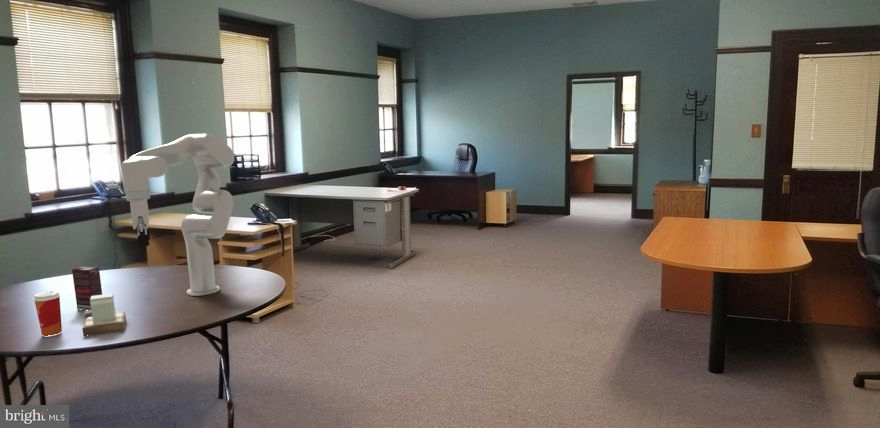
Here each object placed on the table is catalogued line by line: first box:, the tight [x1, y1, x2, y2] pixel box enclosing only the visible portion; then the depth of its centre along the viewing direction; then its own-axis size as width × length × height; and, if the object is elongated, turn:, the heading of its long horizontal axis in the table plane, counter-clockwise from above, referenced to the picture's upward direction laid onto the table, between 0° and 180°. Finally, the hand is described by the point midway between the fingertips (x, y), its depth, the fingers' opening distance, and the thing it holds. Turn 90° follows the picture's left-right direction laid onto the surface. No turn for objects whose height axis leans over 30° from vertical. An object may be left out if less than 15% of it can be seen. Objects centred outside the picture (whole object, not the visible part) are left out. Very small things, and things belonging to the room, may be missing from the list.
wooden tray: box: [81, 311, 127, 337], centre depth 215 cm, size 12×12×3 cm
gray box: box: [84, 310, 92, 321], centre depth 223 cm, size 4×7×4 cm, turn 123°
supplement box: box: [71, 265, 103, 311], centre depth 236 cm, size 9×5×16 cm, turn 71°
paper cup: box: [32, 290, 63, 336], centre depth 209 cm, size 8×8×14 cm
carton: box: [90, 292, 116, 323], centre depth 214 cm, size 5×7×8 cm
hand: (145, 243), depth 223 cm, fingers open, 9 cm apart
